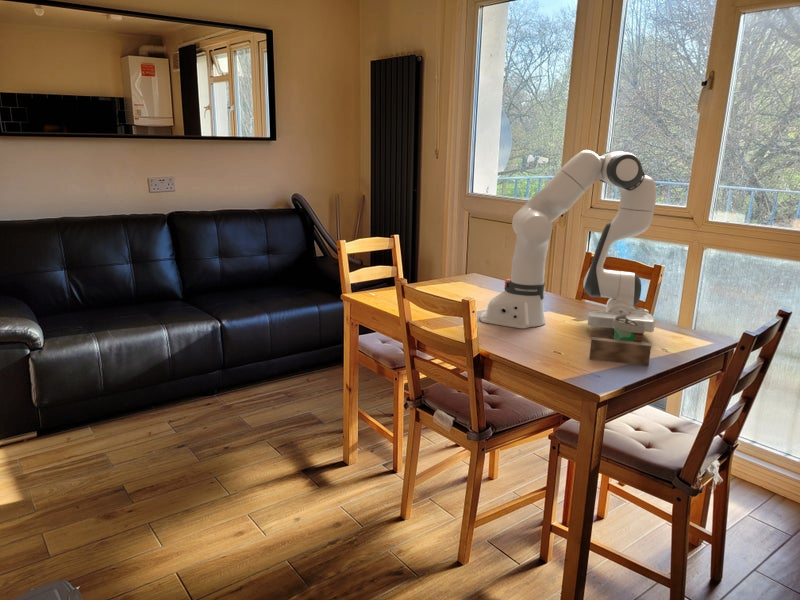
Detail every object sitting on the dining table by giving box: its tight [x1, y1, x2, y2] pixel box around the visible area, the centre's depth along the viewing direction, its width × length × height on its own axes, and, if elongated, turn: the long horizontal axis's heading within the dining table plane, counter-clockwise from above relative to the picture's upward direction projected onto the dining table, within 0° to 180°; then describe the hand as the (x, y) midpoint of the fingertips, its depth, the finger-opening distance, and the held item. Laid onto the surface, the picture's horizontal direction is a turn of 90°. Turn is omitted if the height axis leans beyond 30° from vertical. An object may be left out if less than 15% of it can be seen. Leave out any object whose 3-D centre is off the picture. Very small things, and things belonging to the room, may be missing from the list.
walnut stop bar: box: [589, 336, 652, 367], centre depth 172 cm, size 16×2×6 cm, turn 73°
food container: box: [613, 315, 645, 342], centre depth 180 cm, size 12×6×10 cm, turn 6°
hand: (621, 328), depth 187 cm, fingers closed
